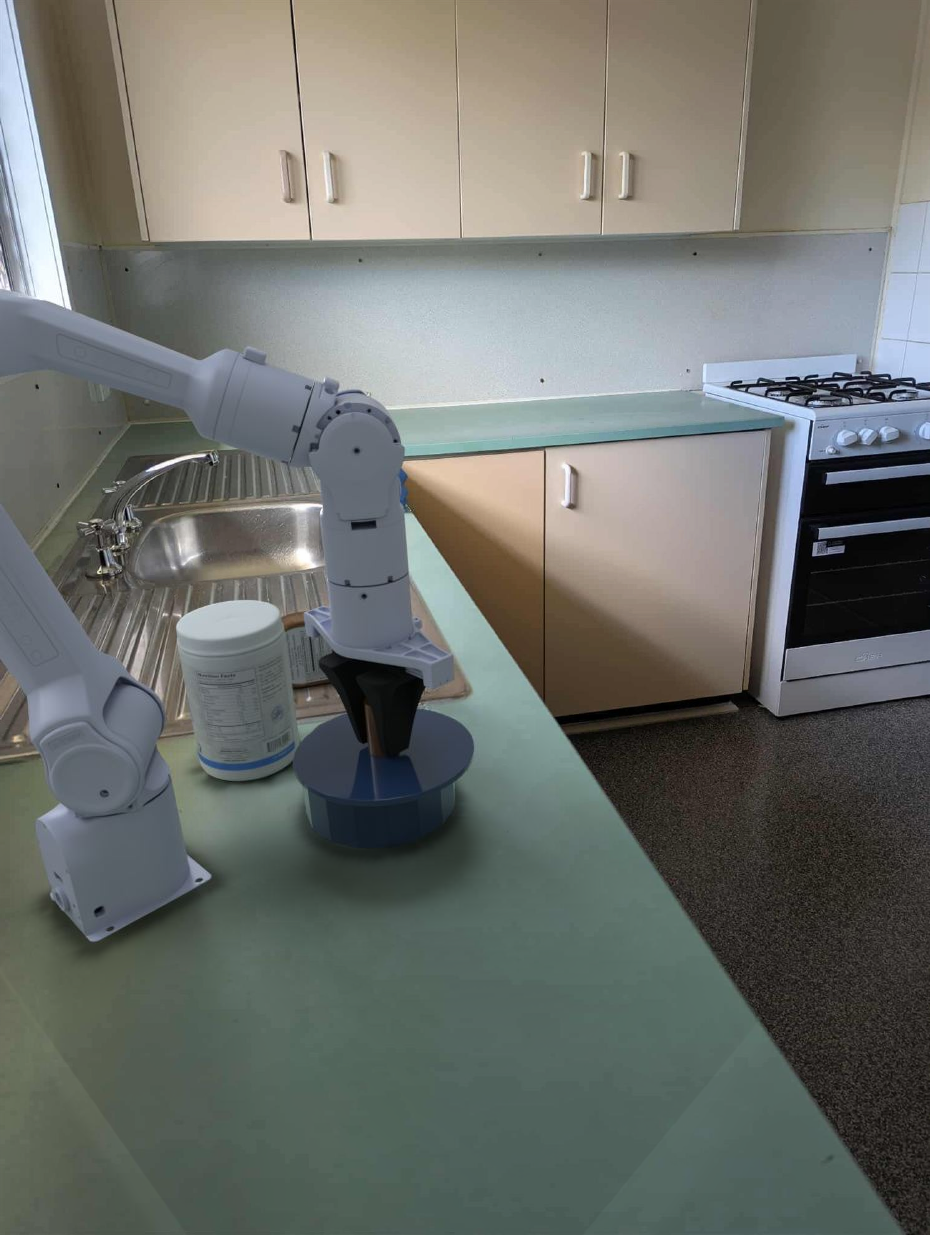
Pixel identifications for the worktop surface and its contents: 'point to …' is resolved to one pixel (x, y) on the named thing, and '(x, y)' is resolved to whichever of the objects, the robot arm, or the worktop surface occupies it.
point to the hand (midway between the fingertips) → (383, 744)
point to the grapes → (403, 487)
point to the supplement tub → (239, 688)
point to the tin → (304, 652)
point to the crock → (378, 818)
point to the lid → (383, 761)
